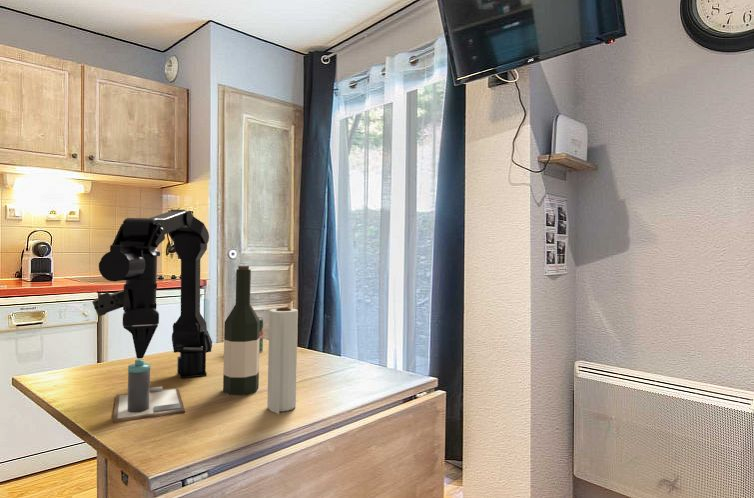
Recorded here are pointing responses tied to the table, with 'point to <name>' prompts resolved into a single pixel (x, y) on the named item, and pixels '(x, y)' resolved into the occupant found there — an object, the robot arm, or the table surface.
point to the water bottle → (138, 386)
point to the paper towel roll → (282, 359)
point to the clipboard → (150, 404)
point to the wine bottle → (241, 341)
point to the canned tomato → (261, 335)
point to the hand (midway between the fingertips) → (139, 353)
